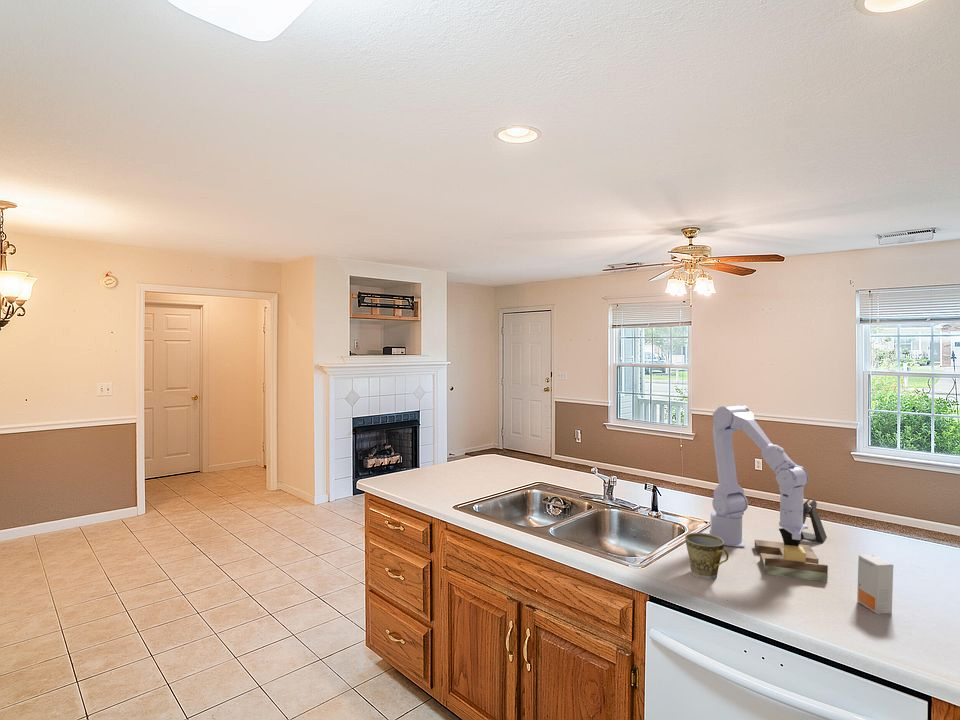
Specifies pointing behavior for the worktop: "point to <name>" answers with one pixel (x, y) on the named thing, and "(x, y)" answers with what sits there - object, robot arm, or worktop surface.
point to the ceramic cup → (705, 554)
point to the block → (794, 553)
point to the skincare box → (875, 583)
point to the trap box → (790, 562)
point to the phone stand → (813, 523)
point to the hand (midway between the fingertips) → (790, 555)
